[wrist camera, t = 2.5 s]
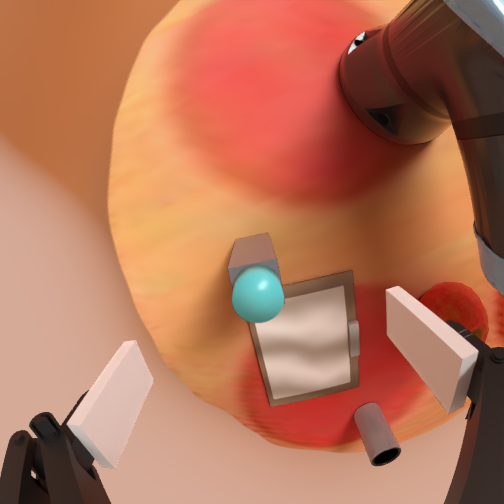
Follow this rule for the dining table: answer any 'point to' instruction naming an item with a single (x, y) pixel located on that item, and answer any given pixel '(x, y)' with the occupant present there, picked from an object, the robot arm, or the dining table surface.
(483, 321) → the apple
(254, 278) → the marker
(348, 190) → the dining table surface
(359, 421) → the grey hollow cylinder
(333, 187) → the dining table surface
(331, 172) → the dining table surface
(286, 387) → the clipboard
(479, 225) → the robot arm
